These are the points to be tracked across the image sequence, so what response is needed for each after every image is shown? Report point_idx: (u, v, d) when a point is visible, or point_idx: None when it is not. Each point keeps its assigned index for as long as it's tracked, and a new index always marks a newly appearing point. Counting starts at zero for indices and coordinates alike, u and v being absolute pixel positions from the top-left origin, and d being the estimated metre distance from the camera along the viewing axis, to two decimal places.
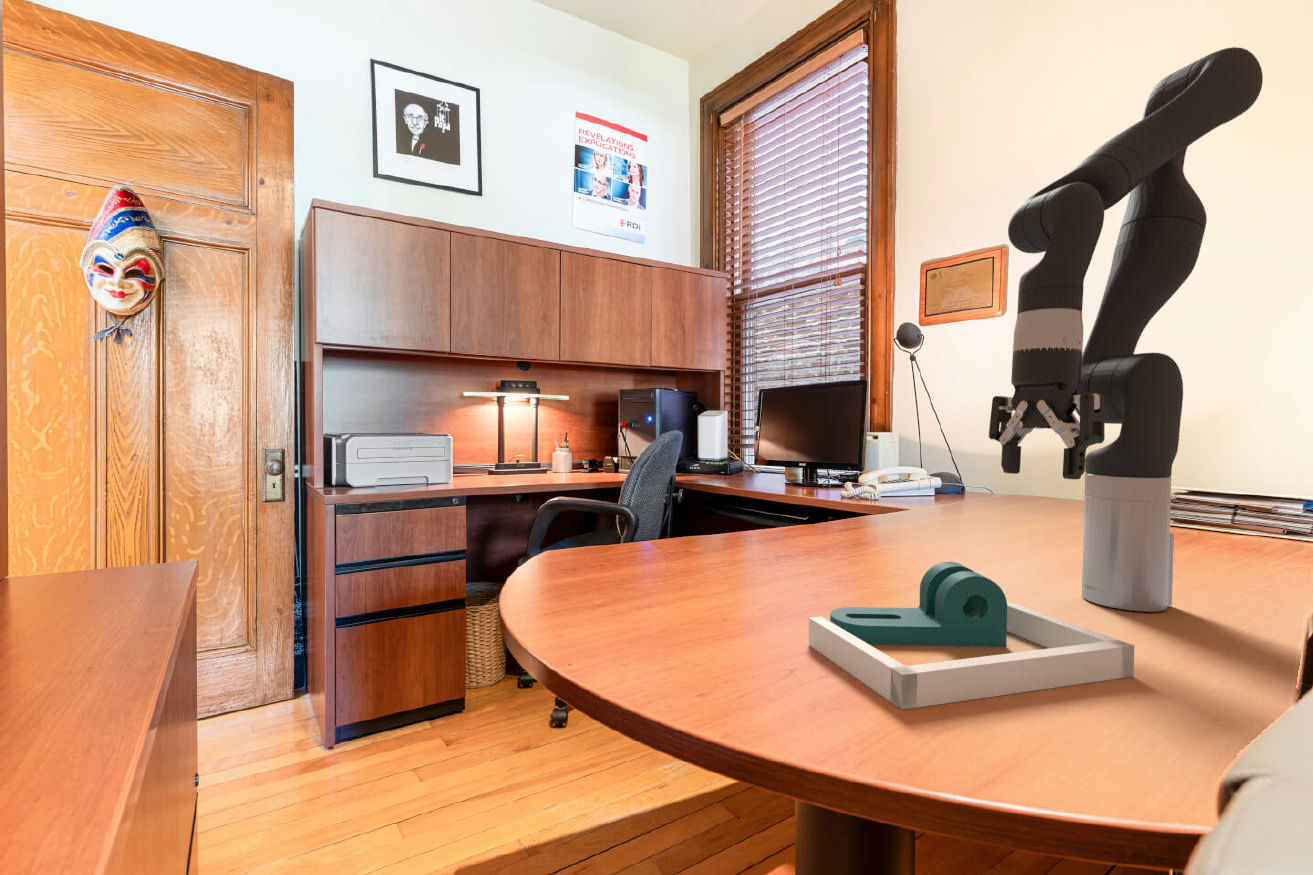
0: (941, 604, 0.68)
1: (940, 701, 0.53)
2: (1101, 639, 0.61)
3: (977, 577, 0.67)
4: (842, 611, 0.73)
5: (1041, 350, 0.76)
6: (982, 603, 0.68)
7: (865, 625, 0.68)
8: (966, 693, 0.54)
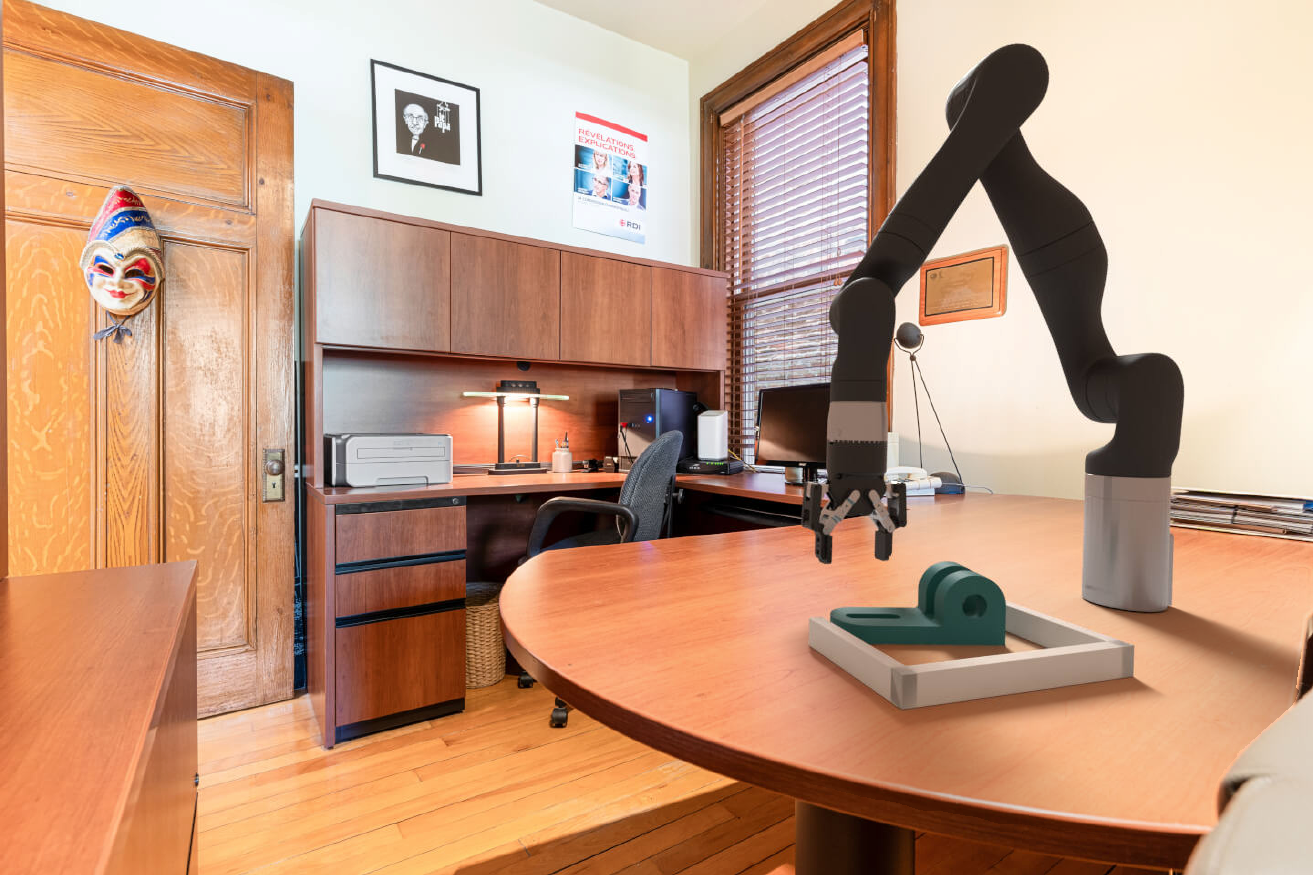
0: (940, 604, 0.68)
1: (940, 701, 0.53)
2: (1101, 639, 0.61)
3: (976, 576, 0.67)
4: (841, 611, 0.73)
5: (885, 443, 0.78)
6: (981, 602, 0.69)
7: (866, 625, 0.68)
8: (966, 693, 0.54)
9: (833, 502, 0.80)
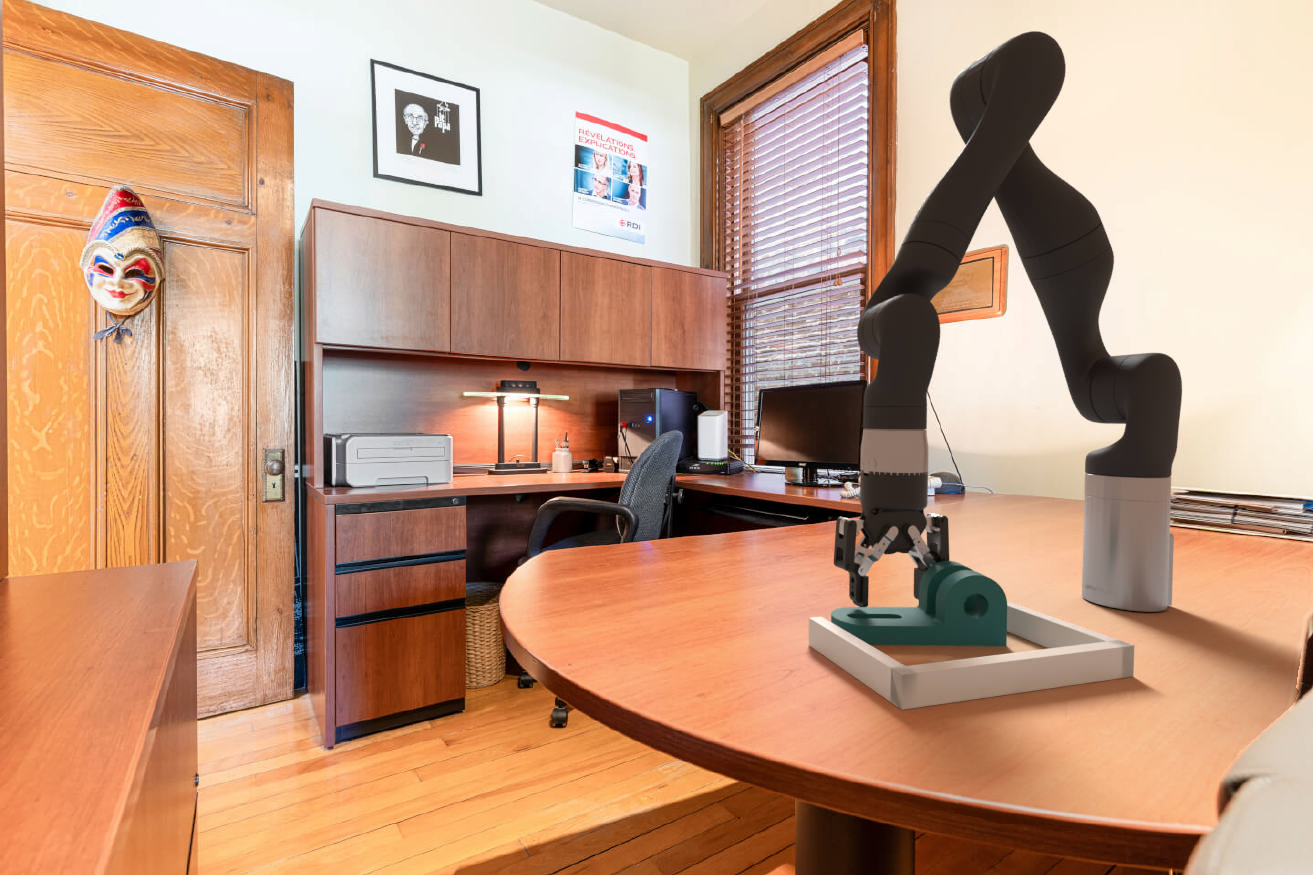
0: (942, 603, 0.68)
1: (940, 701, 0.53)
2: (1101, 639, 0.61)
3: (978, 576, 0.67)
4: (842, 611, 0.72)
5: (925, 474, 0.71)
6: (982, 602, 0.68)
7: (867, 625, 0.68)
8: (966, 693, 0.54)
9: (868, 539, 0.73)
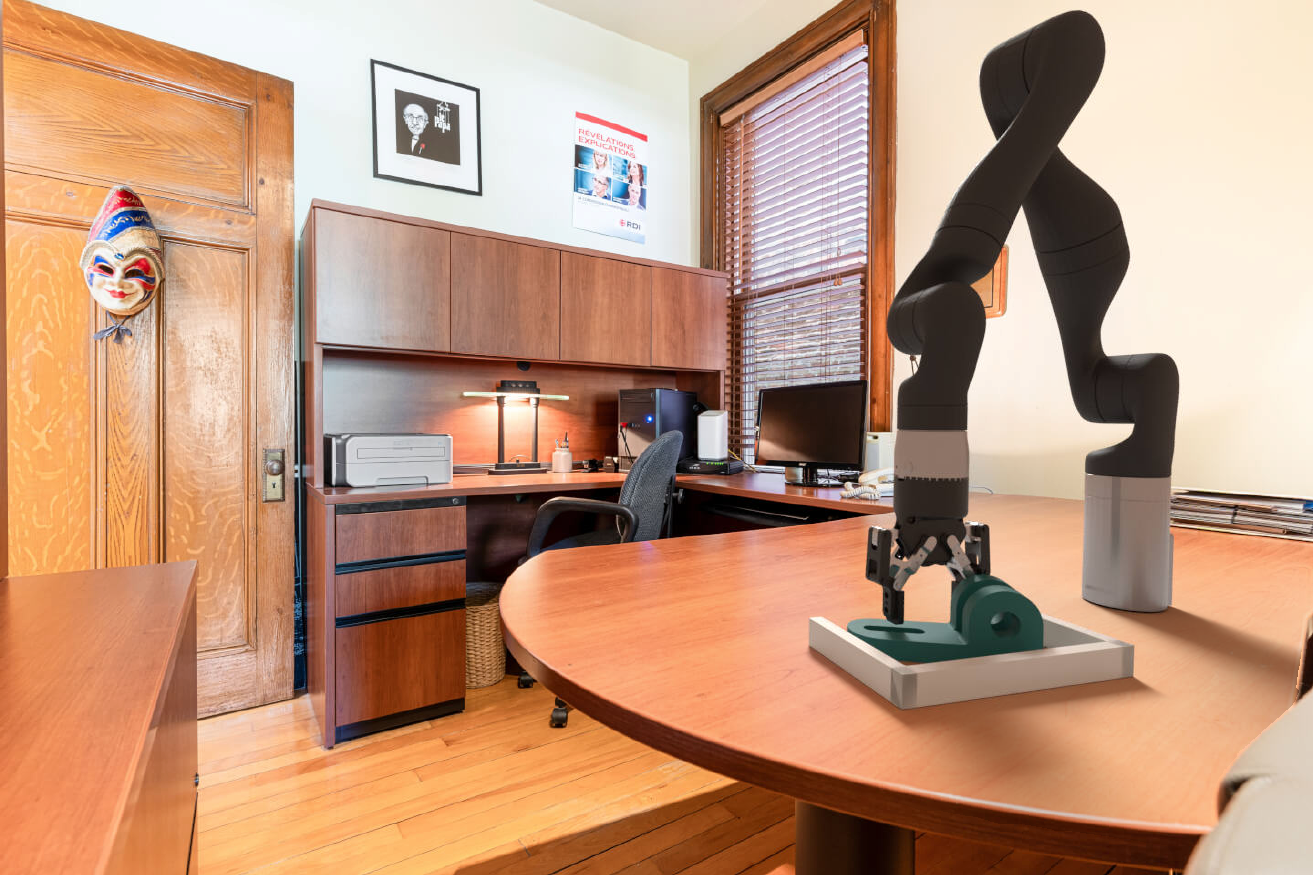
0: (966, 620, 0.62)
1: (940, 701, 0.53)
2: (1101, 639, 0.61)
3: (1008, 592, 0.61)
4: (861, 622, 0.68)
5: (967, 480, 0.65)
6: (1016, 621, 0.62)
7: (880, 638, 0.64)
8: (966, 693, 0.54)
9: (903, 550, 0.67)
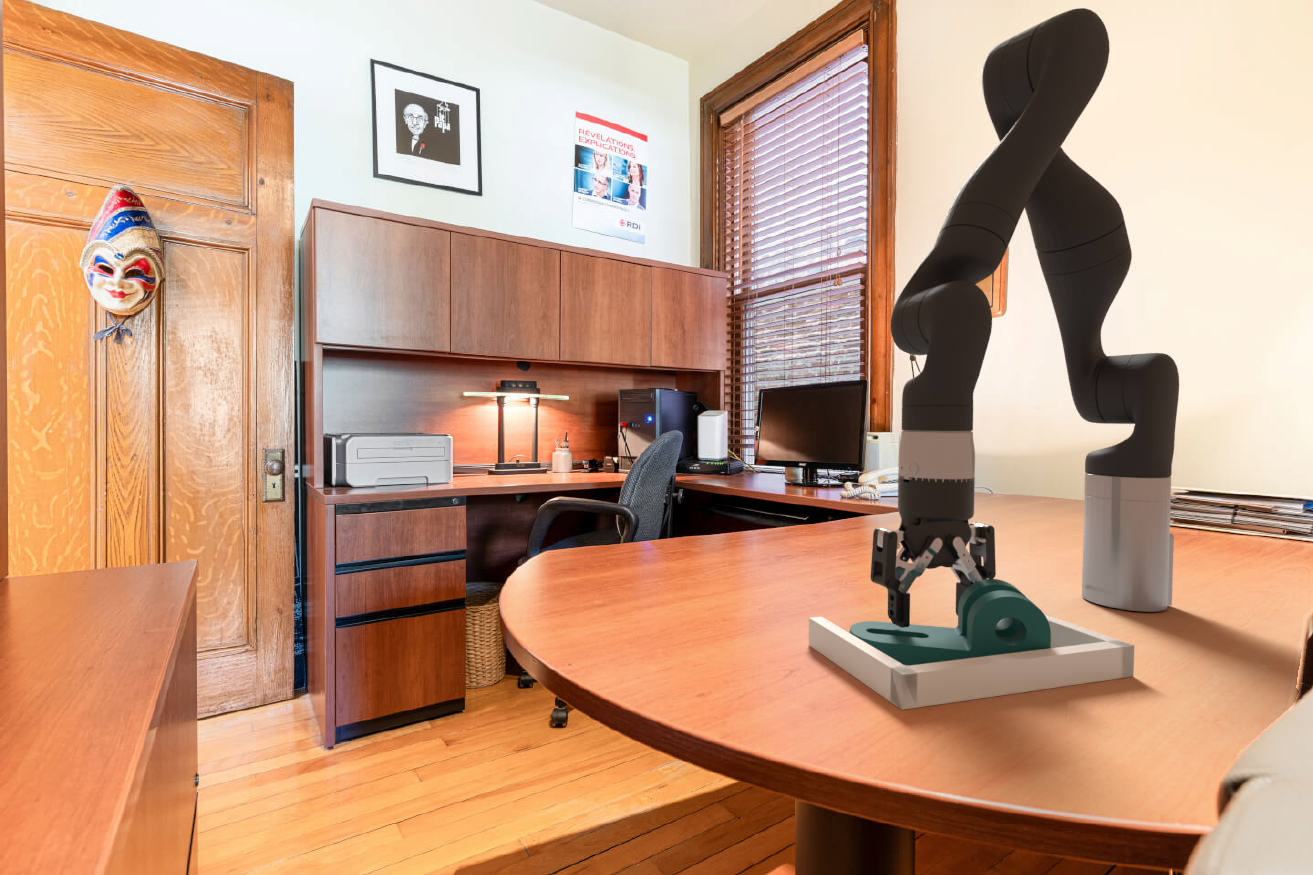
0: (970, 625, 0.61)
1: (940, 701, 0.53)
2: (1101, 639, 0.61)
3: (1013, 598, 0.59)
4: (865, 625, 0.68)
5: (972, 481, 0.64)
6: (1022, 628, 0.60)
7: (881, 641, 0.63)
8: (966, 693, 0.54)
9: (908, 551, 0.67)
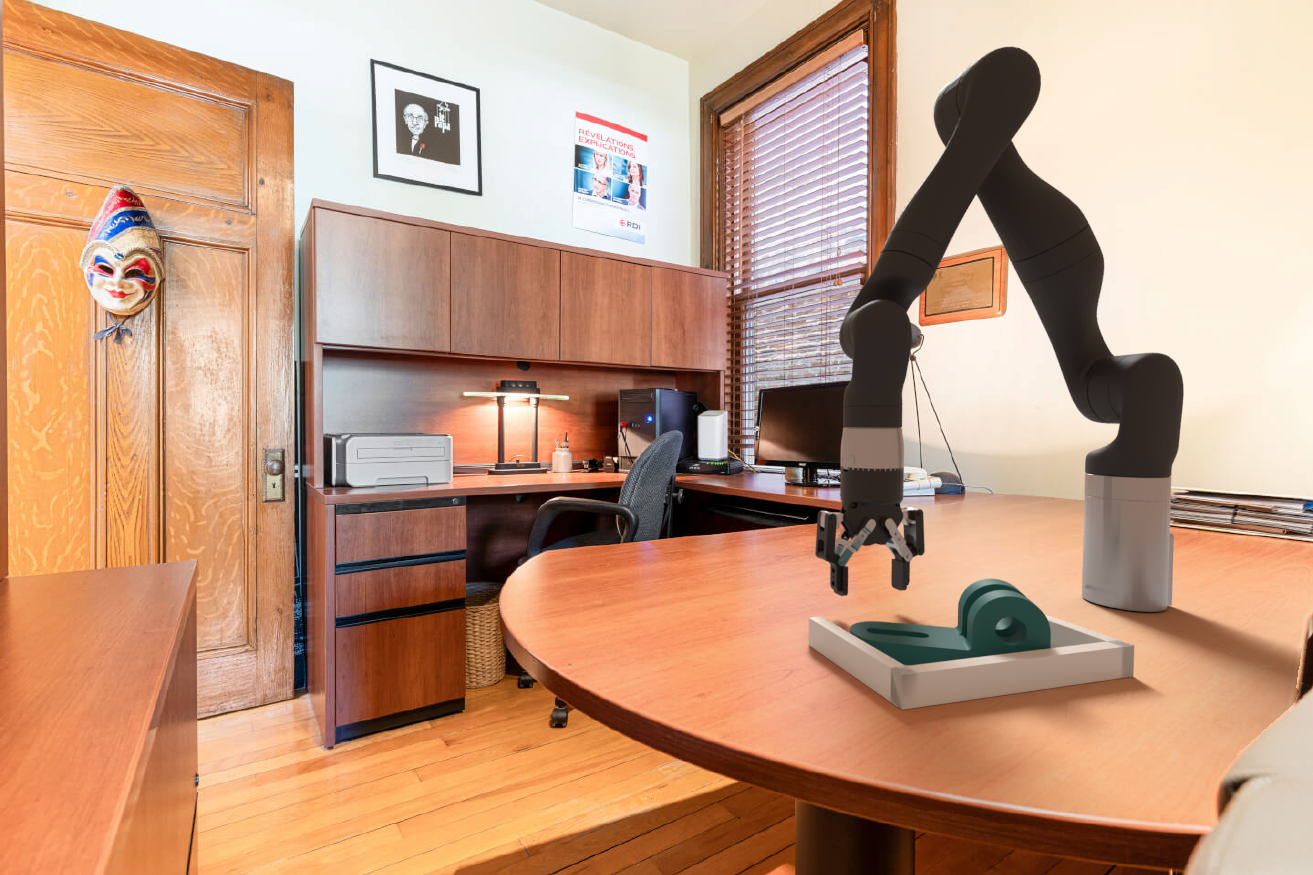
0: (971, 625, 0.61)
1: (940, 701, 0.53)
2: (1101, 639, 0.61)
3: (1013, 597, 0.59)
4: (865, 625, 0.68)
5: (901, 470, 0.75)
6: (1022, 627, 0.60)
7: (881, 641, 0.63)
8: (966, 693, 0.54)
9: (848, 531, 0.78)
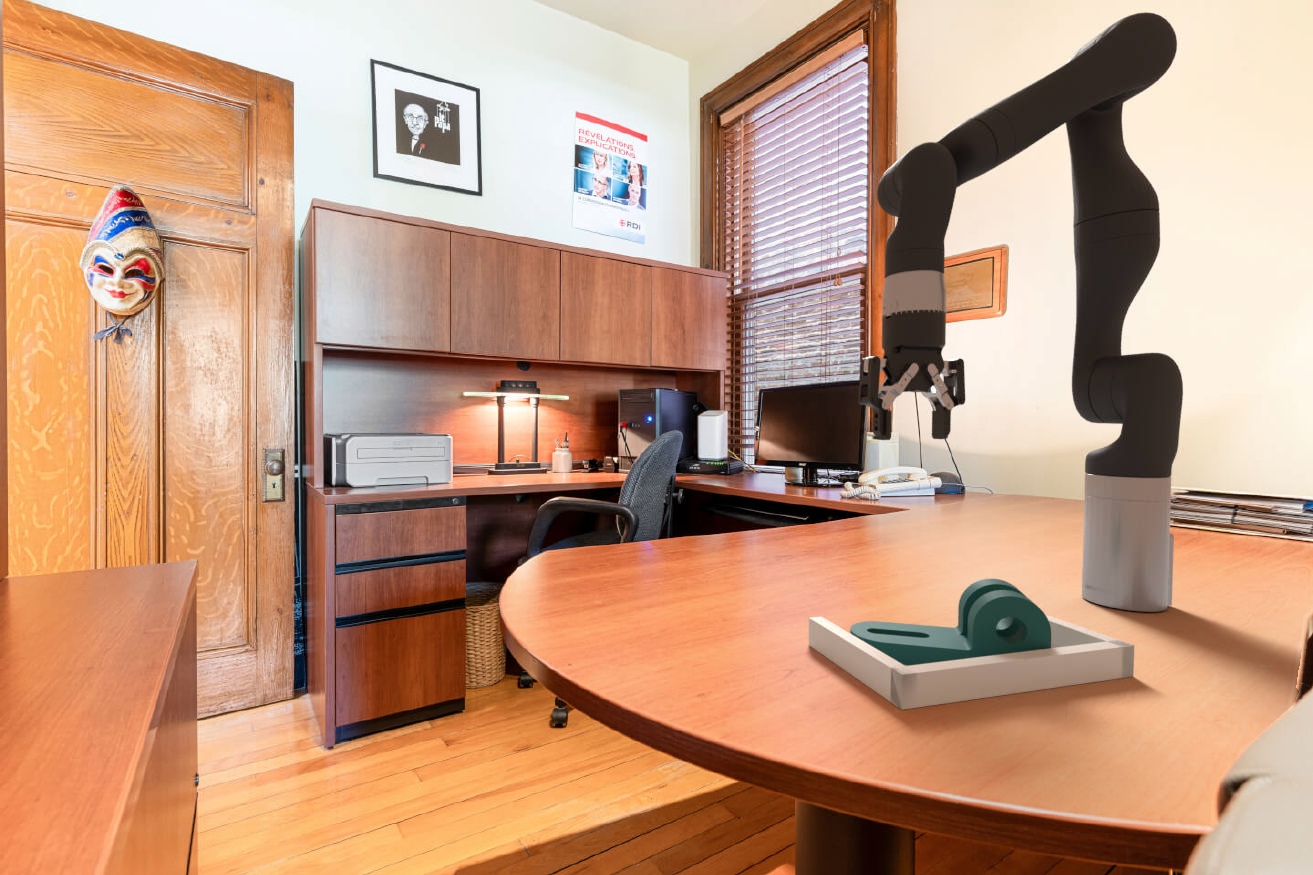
0: (971, 625, 0.61)
1: (940, 701, 0.53)
2: (1101, 639, 0.61)
3: (1014, 597, 0.59)
4: (865, 625, 0.68)
5: (944, 314, 0.76)
6: (1023, 627, 0.60)
7: (882, 641, 0.63)
8: (966, 693, 0.54)
9: (890, 378, 0.79)
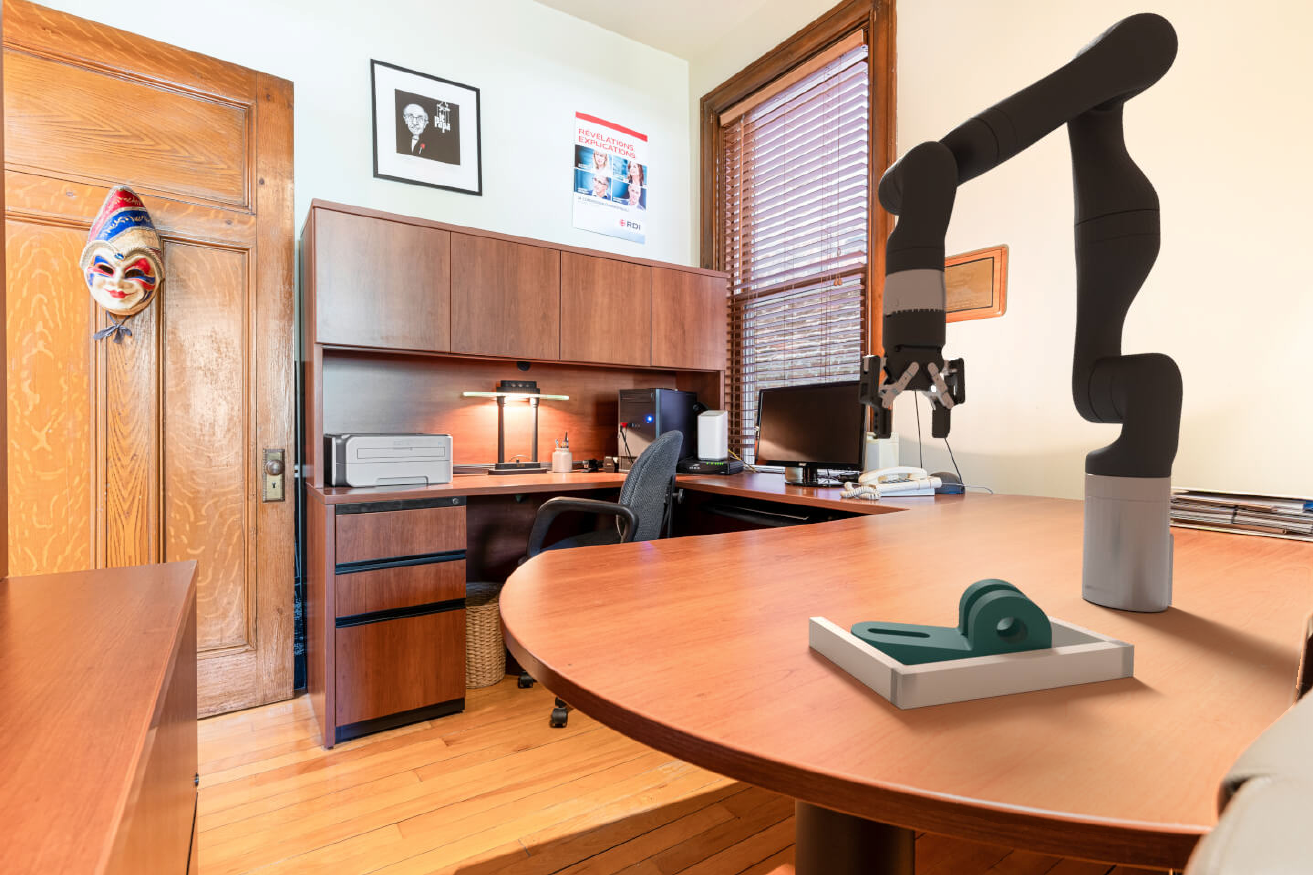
0: (972, 625, 0.61)
1: (940, 701, 0.53)
2: (1101, 639, 0.61)
3: (1014, 597, 0.59)
4: (866, 625, 0.68)
5: (944, 313, 0.76)
6: (1023, 627, 0.60)
7: (883, 641, 0.63)
8: (966, 693, 0.54)
9: (890, 377, 0.79)
